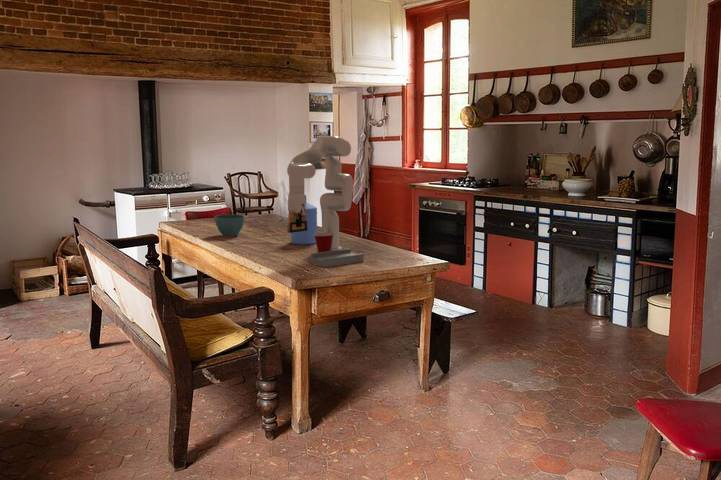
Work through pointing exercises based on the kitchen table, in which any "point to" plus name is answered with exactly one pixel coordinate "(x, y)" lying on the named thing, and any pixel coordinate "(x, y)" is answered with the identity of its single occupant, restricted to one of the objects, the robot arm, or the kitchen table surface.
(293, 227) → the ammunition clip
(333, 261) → the grey tray
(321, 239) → the plastic cup
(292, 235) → the water jug
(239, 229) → the plant pot
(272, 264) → the kitchen table surface
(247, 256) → the kitchen table surface
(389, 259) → the kitchen table surface
